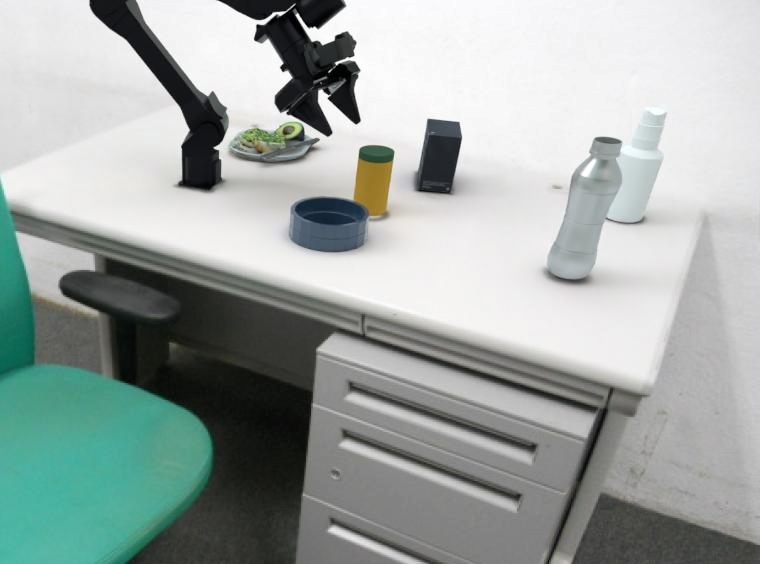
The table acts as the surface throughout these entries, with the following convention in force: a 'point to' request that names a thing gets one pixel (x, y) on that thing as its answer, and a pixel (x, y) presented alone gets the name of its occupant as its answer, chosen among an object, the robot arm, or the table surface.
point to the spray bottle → (639, 167)
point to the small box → (439, 155)
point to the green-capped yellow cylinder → (373, 178)
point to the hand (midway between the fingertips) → (344, 129)
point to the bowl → (329, 223)
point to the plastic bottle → (586, 210)
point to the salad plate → (272, 143)
